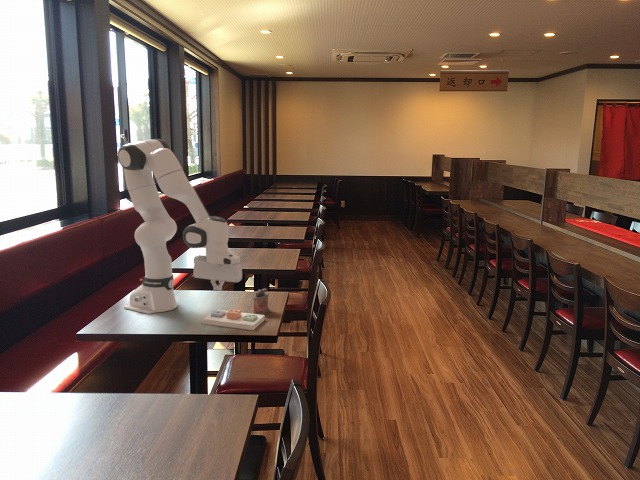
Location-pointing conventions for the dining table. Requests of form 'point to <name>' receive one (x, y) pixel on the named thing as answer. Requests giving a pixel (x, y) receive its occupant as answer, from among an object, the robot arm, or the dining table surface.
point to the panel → (233, 321)
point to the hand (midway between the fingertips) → (217, 290)
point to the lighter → (261, 302)
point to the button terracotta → (233, 314)
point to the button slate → (218, 313)
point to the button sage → (250, 317)
